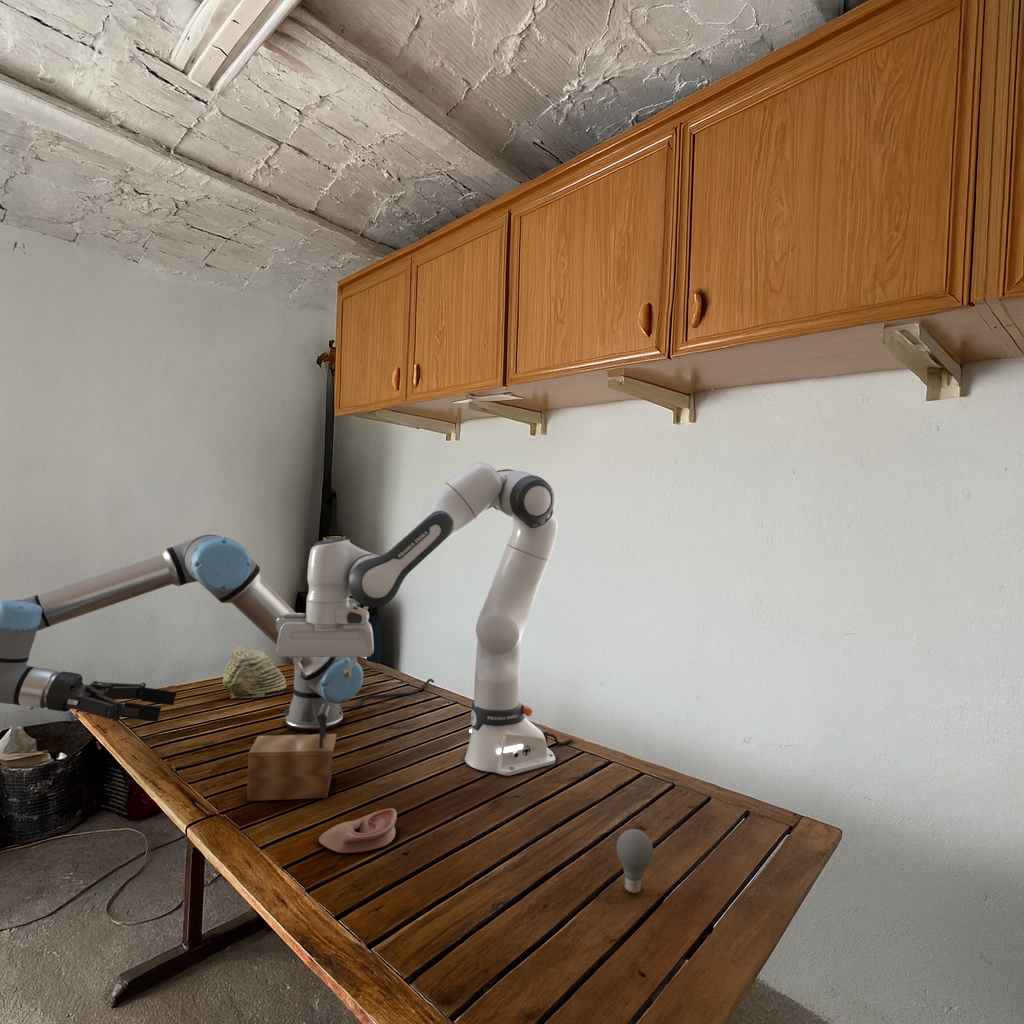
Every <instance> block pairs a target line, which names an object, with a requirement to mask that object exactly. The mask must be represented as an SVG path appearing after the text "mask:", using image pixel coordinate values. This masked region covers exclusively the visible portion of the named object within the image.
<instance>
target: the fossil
mask: <svg viewBox="0 0 1024 1024" xmlns="http://www.w3.org/2000/svg"><path fill="white" fill-rule="evenodd" d="M222 676H223V677H222V685H223V687H224V688H225V690H226V691H228V693H229V698H230V699H250V698H264V697H271V696H275V695H281V694H284V693H285V691H286V689H287V687H288V686H287V680H286V678H285V676H284V674H283V673H282V672H281V669H279V668H278V667H277V665H276V663H275V662H274V660H273V659H272V658H271V657H270V656H269V655H268V654H267V653H266V652H265V650H264V649H263V648H260V647H258V648H251V647H247V646H246V647H245V646H238V647H237V648H236V649H235V650H233V651H232V653H231V656H230V657H229V659H228V660H227V663H226V666H225V668H224V671H223V675H222Z"/></svg>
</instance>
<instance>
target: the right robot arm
mask: <svg viewBox="0 0 1024 1024" xmlns="http://www.w3.org/2000/svg"><path fill="white" fill-rule="evenodd" d="M554 504H555V495H554V491H553V488H552V487H551V485H550V484H549V483H548V481H546V479H544V478H542V477H541V476H538V475H535V474H532V473H530V472H527V471H524V470H514V469H510V468H509V469H500V470H496V468H494V467H493V466H492V465H491V464H488V463H487V462H484V461H477V462H474V463H472V464H470V465H468V466H466V467H465V468H463V469H461V470H460V471H458V472H457V473H455V474H454V475H452V476H451V477H450V478H448V479H447V480H446V481H444V483H442V484H441V485H440V486H438V488H437V489H435V490H434V491H433V493H431V495H430V496H429V497H428V498H427V499H426V501H425V502H424V503H423V506H422V510H421V514H420V518H419V520H418V522H417V523H416V525H414V527H413V528H412V529H411V530H409V532H408V533H407V534H406V535H404V536H403V537H402V538H401V539H400V540H398V542H396V543H395V544H394V545H392V546H391V547H390V549H388V550H387V551H386V552H384V553H382V554H381V555H378V554H376V553H373V552H370V551H368V550H365V549H362V548H360V547H359V546H357V545H355V544H353V543H352V542H350V541H349V540H348V539H347V538H344V537H338V538H337V537H336V538H328V539H322V540H320V541H317V542H316V543H315V544H314V545H312V547H311V549H310V552H309V556H308V557H309V558H308V562H307V563H308V564H307V575H306V577H307V584H308V593H307V596H306V607H305V608H306V609H305V612H296V613H285V614H284V615H281V616H280V617H279V618H278V619H277V627H276V628H277V631H278V632H279V636H278V641H277V645H276V649H275V651H276V654H277V656H278V657H279V658H289V657H294V661H293V660H292V662H293V664H294V667H295V666H296V667H297V669H298V670H299V673H298V677H299V678H302V677H306V674H307V673H306V671H307V668H303V667H302V665H301V663H300V661H301V659H302V657H350V662H351V664H350V665H349V667H345V668H344V677H351V669H352V668H353V666H354V665H355V663H356V661H357V662H358V658H369V657H371V656H372V655H373V654H374V648H375V644H374V643H375V641H374V631H373V627H372V624H371V623H370V621H369V620H370V612H369V611H368V609H366V608H381V607H383V606H385V605H388V604H389V603H391V601H392V600H393V599H394V598H395V597H396V595H397V593H398V592H399V590H400V588H401V586H402V584H403V581H404V580H405V578H406V577H407V576H408V574H409V573H410V572H412V571H413V570H414V569H415V568H416V567H417V566H418V565H419V564H420V563H421V562H422V561H423V560H425V559H426V558H427V557H428V556H429V555H430V554H431V553H432V552H434V551H435V549H437V548H438V547H439V546H440V545H441V544H443V543H444V542H446V541H447V540H449V539H451V538H452V537H454V536H455V535H457V534H458V533H460V532H461V531H463V530H464V529H466V528H467V527H469V525H471V524H472V523H473V522H474V521H476V520H477V519H478V518H479V517H480V516H481V515H482V514H483V513H484V512H485V511H487V510H489V509H491V508H494V510H497V511H500V512H501V513H503V514H505V515H506V516H509V517H512V523H513V524H512V531H511V534H510V536H509V539H508V541H507V544H506V545H505V549H504V552H503V554H502V556H501V559H500V561H499V565H498V566H497V569H496V572H495V574H494V577H493V580H492V583H491V586H490V588H489V591H488V593H487V595H486V599H485V601H484V604H483V605H482V608H481V610H480V612H479V615H478V618H477V621H476V626H475V634H476V635H475V636H476V639H477V642H476V654H475V655H476V656H475V669H474V688H473V689H474V690H473V691H474V692H473V700H472V703H471V710H470V725H471V728H470V729H469V733H470V736H469V743H468V746H467V750H466V753H465V755H464V761H465V763H466V764H467V765H468V766H469V767H471V768H473V769H475V770H479V771H482V772H487V773H488V772H489V773H496V774H498V775H502V776H506V777H509V776H513V775H516V774H517V775H518V774H522V773H524V772H528V771H533V770H537V769H540V768H544V767H547V766H551V765H555V764H556V755H555V753H554V752H553V751H552V750H551V749H550V748H549V747H548V746H547V744H548V737H551V738H553V739H554V742H555V743H556V744H557V745H559V746H564V745H568V744H570V743H572V742H574V739H573V738H569V739H567V740H565V741H559V740H558V737H557V736H556V735H555V734H553V733H550V732H548V730H547V729H546V730H545V729H544V728H542V727H540V726H538V725H535V724H534V723H532V722H531V721H530V720H529V719H527V718H526V717H531V716H532V714H533V713H534V712H533V709H532V708H531V707H530V706H528V705H524V704H523V703H521V702H520V699H519V698H520V682H521V681H520V680H521V679H520V678H521V677H520V676H521V651H522V650H521V647H522V645H521V644H522V636H523V635H524V631H525V628H526V626H527V622H528V619H529V617H530V614H531V611H532V608H533V605H534V603H535V599H536V596H537V593H538V590H539V588H540V585H541V582H542V579H543V578H544V574H545V573H546V572H545V571H546V570H547V567H548V564H549V561H550V559H551V556H552V553H553V551H554V547H555V543H556V539H557V533H558V530H559V523H558V520H557V518H556V517H555V516H554V515H553V514H554ZM350 596H351V597H352V598H353V599H354V600H355V602H357V603H358V604H359V605H361V606H363V607H366V608H363V607H359V606H356V605H353V604H351V603H350ZM282 617H284V618H282Z"/></svg>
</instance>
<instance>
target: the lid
mask: <svg viewBox="0 0 1024 1024" xmlns="http://www.w3.org/2000/svg"><path fill="white" fill-rule="evenodd" d="M329 710H330V706H329V704H326V703H325V704H322V706H321V708H320V711H319V714H318V716H317V720H318V722H320V731H319V734H281V735H280V734H277V735H273V734H271V735H258V736H257V737H256V739H255V740H254V743H253V744H252V746H251V748H250V750H249V752H248V758H249V757H262V756H298V755H332V756H333V754H334V751H335V745H336V741H337V739H338V738H337V736H338V735H337V733H327V730H326V720H327V717H328V713H329Z"/></svg>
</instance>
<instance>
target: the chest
mask: <svg viewBox="0 0 1024 1024" xmlns="http://www.w3.org/2000/svg"><path fill="white" fill-rule="evenodd" d="M247 760H248V761H247V784H246V785H247V786H246V802H257V801H258V802H259V801H281V800H283V801H284V800H285V801H286V800H308V799H309V800H310V799H327V798H328V795H329V791H330V786H331V781H332V772H333V771H332V769H333V754H332V755H298V756H262V757H249V756H248V759H247Z"/></svg>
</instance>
